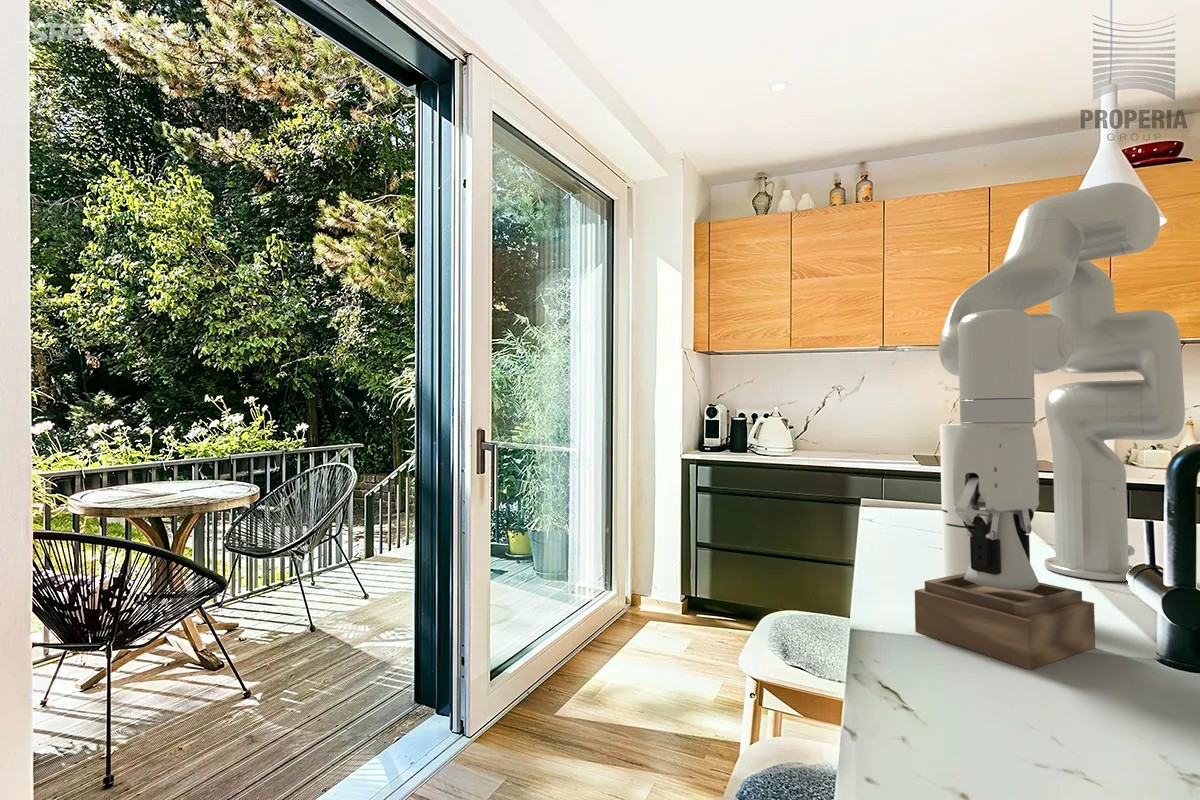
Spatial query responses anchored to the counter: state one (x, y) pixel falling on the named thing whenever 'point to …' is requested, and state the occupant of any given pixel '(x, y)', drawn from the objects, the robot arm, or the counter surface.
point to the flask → (1007, 561)
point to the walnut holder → (1006, 620)
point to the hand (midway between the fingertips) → (1000, 567)
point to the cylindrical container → (952, 509)
